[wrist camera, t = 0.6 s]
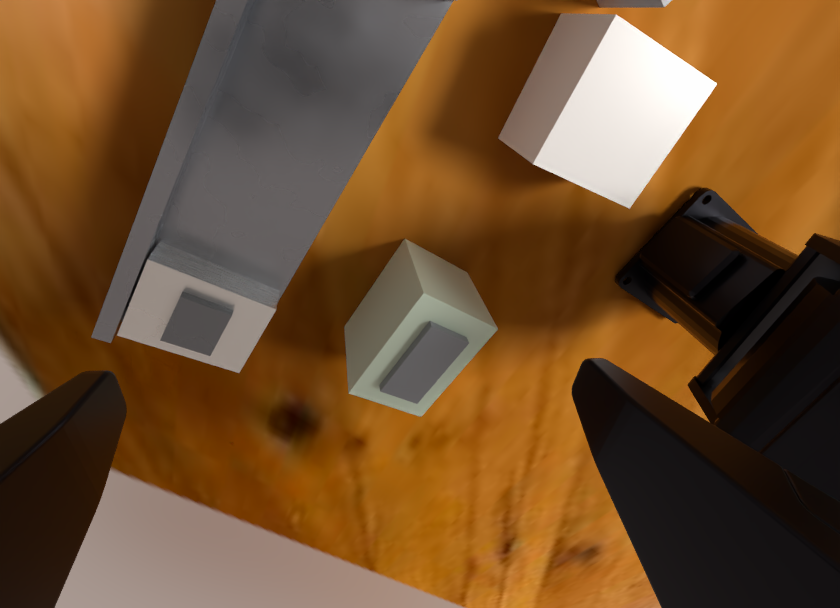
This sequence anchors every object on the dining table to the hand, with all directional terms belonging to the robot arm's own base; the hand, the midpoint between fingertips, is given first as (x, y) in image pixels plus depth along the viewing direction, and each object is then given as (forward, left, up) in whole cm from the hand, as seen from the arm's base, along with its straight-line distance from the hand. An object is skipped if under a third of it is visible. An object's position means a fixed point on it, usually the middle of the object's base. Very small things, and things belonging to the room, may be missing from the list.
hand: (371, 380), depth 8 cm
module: (-6, +4, -13) cm, 15 cm away
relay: (-7, -8, -13) cm, 16 cm away
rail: (+3, -1, -13) cm, 13 cm away
